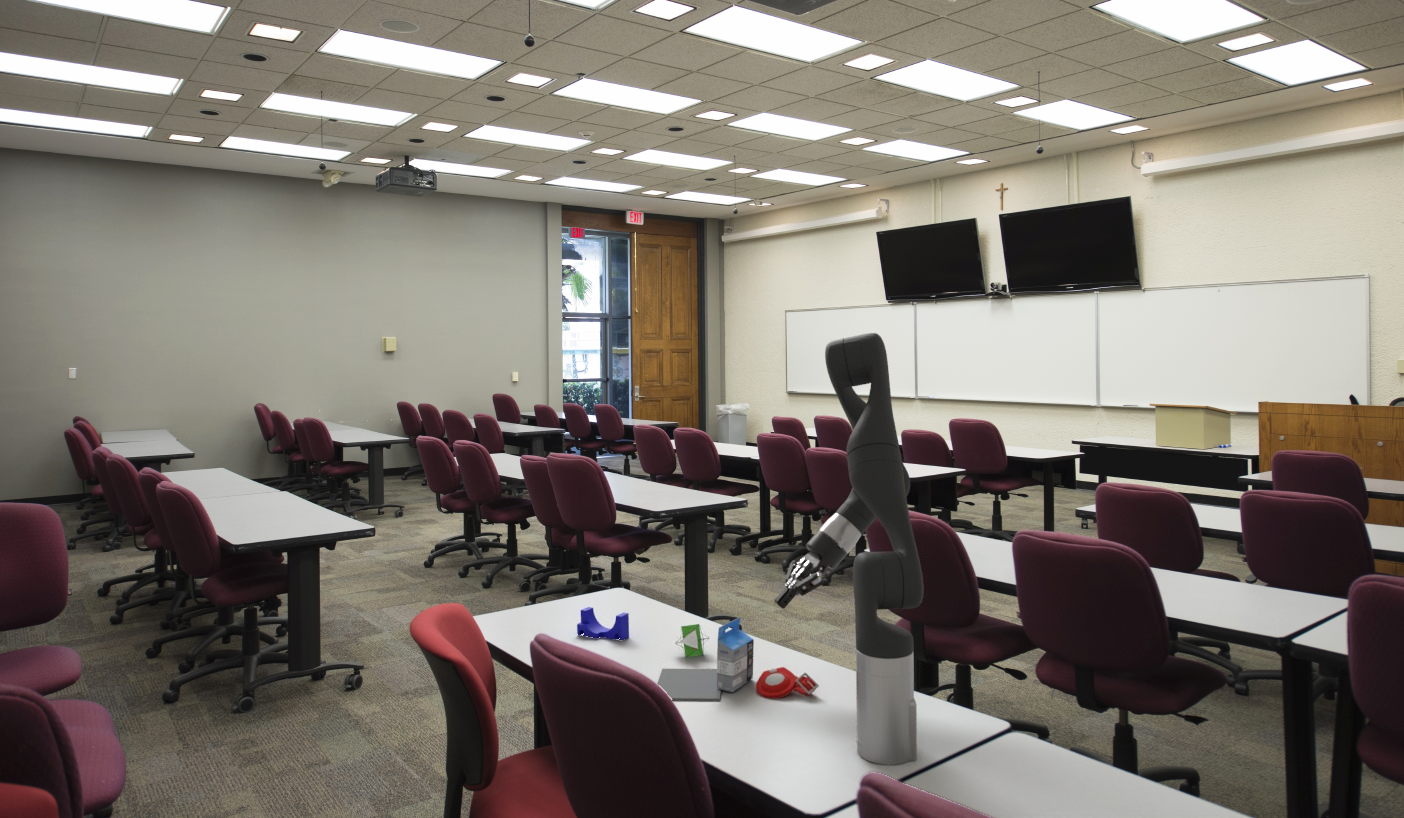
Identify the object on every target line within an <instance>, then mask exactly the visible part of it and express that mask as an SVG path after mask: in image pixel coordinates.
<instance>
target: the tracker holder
mask: <svg viewBox="0 0 1404 818" xmlns="http://www.w3.org/2000/svg"><path fill="white" fill-rule="evenodd" d="M818 688H819V684H818V683H817V682H816V681H815V680H814V679H813V678H812V677H811V676H810V675H809V674H808V673H807V672H803V673H802V674H801V675H800V676H799V677H798V676H797V675H795V674H794V673H793V672H792V671H791V670H789V669H787V668H786V667H784V666H781V667H777V668H771V669H769V670H768V669H767V670H764V671H762V673H761V675H760V676H759V677H758V679H757V681H756V684H755V690H756V693H757V695H759V696H760V697H764V698H767V699H772V700H773V699H774V700H776V699H781V698H783V697H786V696H787V695H789V694H791V693H792V692H793V691H794V692H796V693H798V694H800V695H803V696H805V697H808V696H810V695H811V694H813V693H814V692H815V691H816V690H817V689H818Z"/></svg>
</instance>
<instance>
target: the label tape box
mask: <svg viewBox="0 0 1404 818" xmlns="http://www.w3.org/2000/svg"><path fill="white" fill-rule="evenodd" d="M740 623H741V617H738V618H735V619H733V620H731V621H730V622H728V623H725V624H723V625H721V626H720V627H718V632H717V647H716V649H717V651H716V652H717V654H716V655H717V657H716V658H717V660H716V669H717V688H718V689H721V691H726V692H731V693H733V692H735V691H736V690H739V688H741V687H743V686H744V685H745V684H747V683H749V682H750V681H751V680H753V679H754V678H753V677H754V648H755V647H754V642H755V641H754V638H752V637H751V636H749V635H748V634H747V633H746V632H744V631H742V630H741V629H740ZM729 628H731V629H729ZM728 629H729V630H728Z"/></svg>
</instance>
